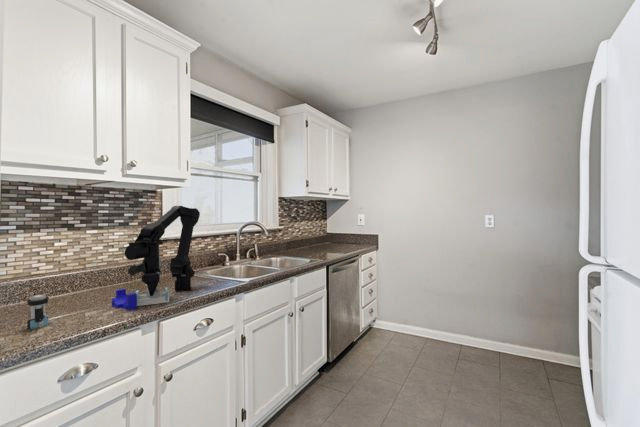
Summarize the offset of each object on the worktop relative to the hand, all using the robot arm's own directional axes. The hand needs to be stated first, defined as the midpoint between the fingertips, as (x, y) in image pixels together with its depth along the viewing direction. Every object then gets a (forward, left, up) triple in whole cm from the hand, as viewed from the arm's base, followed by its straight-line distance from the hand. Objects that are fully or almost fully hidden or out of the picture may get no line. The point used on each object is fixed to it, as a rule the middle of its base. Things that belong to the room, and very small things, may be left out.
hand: (152, 293), depth 129 cm
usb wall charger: (0, 0, -1) cm, 1 cm away
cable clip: (+10, +4, -4) cm, 11 cm away
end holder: (0, 0, -3) cm, 3 cm away
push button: (+32, +15, -3) cm, 35 cm away
